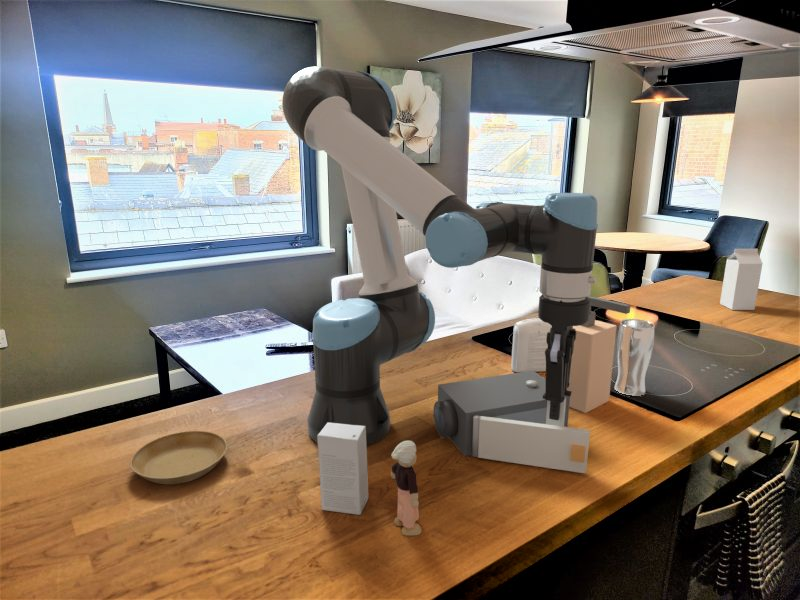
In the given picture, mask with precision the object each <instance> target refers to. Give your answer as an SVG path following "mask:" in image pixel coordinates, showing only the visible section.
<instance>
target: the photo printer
mask: <svg viewBox="0 0 800 600" xmlns="http://www.w3.org/2000/svg"><path fill="white" fill-rule="evenodd" d="M551 328H552V326H551V325H550V324H549V323H545V322H543V321H542V320H541V319H540V318H539V317H537V318H536V317H534V318H527V319H523V320H519V321H517V322H515V323H514V325H513V332H512V334H513V336H512V346H511V348H512V349H511V362H510V363H511V364H510V365H511V366H510V368H511V371H512V372H513V373H514V372H515V373H519V372H526V371H535V372H536V373H538V372H546V358H545V351H546V349H548V344H547V342H546V340H547V333H548V332H550V329H551Z"/></svg>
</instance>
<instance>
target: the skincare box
mask: <svg viewBox="0 0 800 600" xmlns="http://www.w3.org/2000/svg"><path fill="white" fill-rule="evenodd" d="M317 441H318V442H317V455H318V467H319V469H318V472H319V485H320V503H321V511H327V512H336V513H344V514H350V515H357V516H358V515H359V516H361V515H362V513H363V511H364V508H365V506H366V504H367V502H368V500H369V482H368V481H369V480H368V478H369V477H368V475H369V474H368V456H367V455H368V454H367V453H368V451H367V449H368V448H367V447H368V446H367V445H366V426H359V425H348V424H339V423H329V422H328V423H327V424H326V425H325V426H324V428H323V429H322V430H321V432H320V433H319V434H318V435H317Z"/></svg>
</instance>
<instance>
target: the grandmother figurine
mask: <svg viewBox="0 0 800 600" xmlns="http://www.w3.org/2000/svg"><path fill="white" fill-rule="evenodd" d="M416 452H417V445H416V444H415V442H414V441H412V440H403V441H401V442H400V443H398V444H397V445H396V446H395V448H394V450H393V451H392V452H391V455H390V456H391V457H392V459H394V460H397V461H396V462H395V463H394V464H392V465H391V472H390V477H391V478H392V479H395V484H396V486H397V512H396V513H397V517H395V518H394V520H393V523H394V524H395V526H397V527H402V528H401V534H402V535H404V536H407V537H409V536H420V535H421V534H422V532H423V530H422V527H421V525H420V524H419V523H418V522H416V521H418V520H419V519H420V514H419V513H420V512H419V504H420V503H419V487H418V483H417V482H418V481H417V472H416V471H415V468H414V467H413V466H414V465H415V464H416V461H417V454H416Z"/></svg>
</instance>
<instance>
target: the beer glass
mask: <svg viewBox="0 0 800 600" xmlns="http://www.w3.org/2000/svg"><path fill="white" fill-rule="evenodd" d="M655 326H656V325H655V324H654V323H653V322H650V321H648V320H645V319H637V318H625V319H621V320H620V321H619V329H618V333H617V339H616V357H617V359H616V360H617V378H616V382H615V383H614V390H616V391H618V392H619V393H622V394H626V395H632V396H640V397H642V396H641V395H643V396H644V395H646V380H645V379H646V374H647V370H648V368H649V365H650V362H651V358H652V355H653V352H654V351H653V349H654V346H655V345H654V344H655V343H654V342H655ZM616 391H615V392H616ZM618 392H617V393H618ZM619 393H618V394H619ZM622 394H621V395H622Z"/></svg>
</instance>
